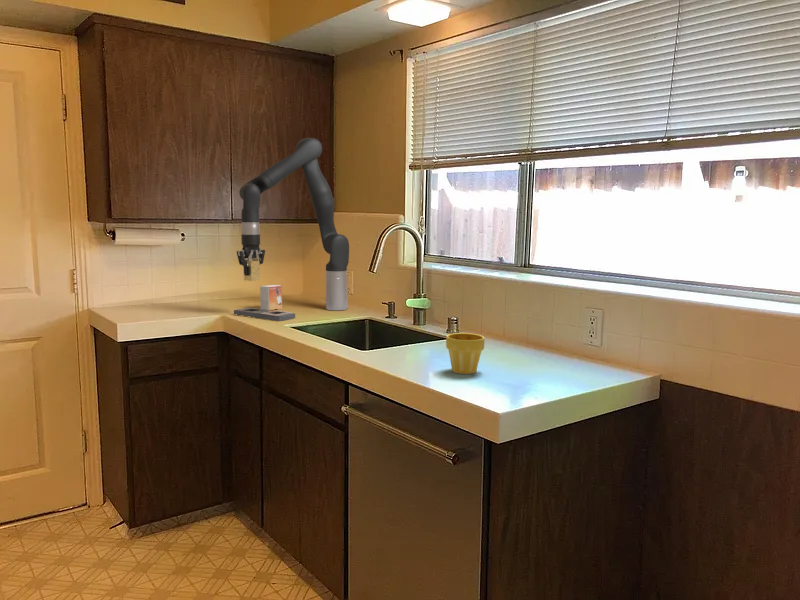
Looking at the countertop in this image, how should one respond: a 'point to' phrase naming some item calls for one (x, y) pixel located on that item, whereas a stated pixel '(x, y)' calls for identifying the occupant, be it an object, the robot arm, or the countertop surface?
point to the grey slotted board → (265, 314)
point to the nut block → (253, 271)
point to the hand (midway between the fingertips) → (251, 274)
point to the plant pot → (464, 351)
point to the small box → (271, 297)
